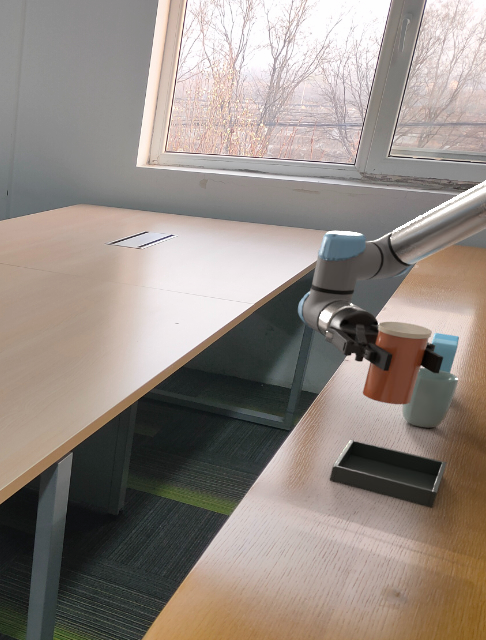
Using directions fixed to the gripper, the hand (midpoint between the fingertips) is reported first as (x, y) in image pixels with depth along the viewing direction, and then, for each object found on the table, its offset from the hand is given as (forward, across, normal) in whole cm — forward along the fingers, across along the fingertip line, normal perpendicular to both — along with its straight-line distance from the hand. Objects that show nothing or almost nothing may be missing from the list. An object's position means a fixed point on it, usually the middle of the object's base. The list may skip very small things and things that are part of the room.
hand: (413, 363), depth 127 cm
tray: (+6, +3, -18) cm, 19 cm away
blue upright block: (-41, -29, -18) cm, 53 cm away
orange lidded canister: (-5, 0, -7) cm, 9 cm away
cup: (-21, -17, -18) cm, 33 cm away
